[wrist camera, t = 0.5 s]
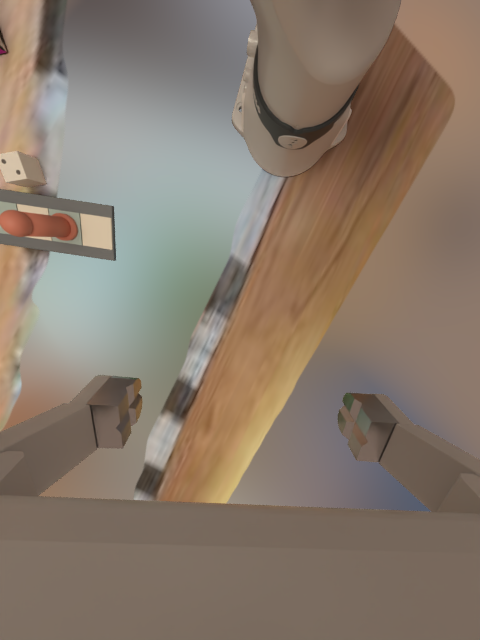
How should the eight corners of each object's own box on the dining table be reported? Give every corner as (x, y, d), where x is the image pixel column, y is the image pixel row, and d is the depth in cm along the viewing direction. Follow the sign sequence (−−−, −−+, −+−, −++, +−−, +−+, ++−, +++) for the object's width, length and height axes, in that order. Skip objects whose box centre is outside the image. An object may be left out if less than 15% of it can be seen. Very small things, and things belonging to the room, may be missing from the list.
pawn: (51, 211, 43) (-17, 201, 32) (76, 215, 43) (17, 207, 32) (54, 238, 44) (-9, 237, 34) (79, 242, 44) (23, 242, 34)
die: (18, 162, 41) (-6, 154, 38) (38, 158, 41) (16, 150, 37) (27, 187, 43) (5, 182, 39) (47, 184, 42) (26, 178, 39)
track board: (-44, 182, 43) (-51, 181, 42) (113, 206, 43) (110, 205, 42) (-31, 238, 46) (-37, 238, 45) (115, 260, 46) (113, 260, 45)
